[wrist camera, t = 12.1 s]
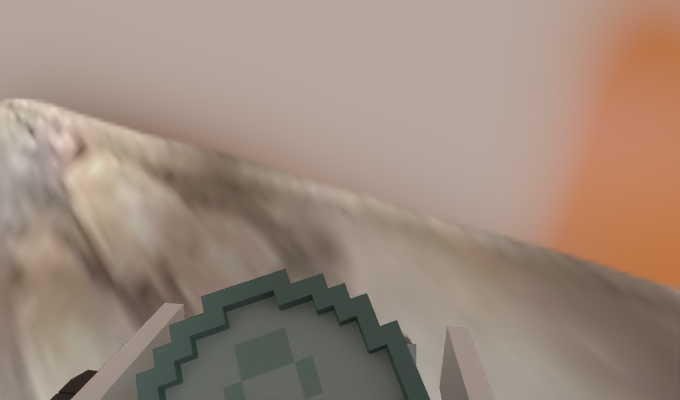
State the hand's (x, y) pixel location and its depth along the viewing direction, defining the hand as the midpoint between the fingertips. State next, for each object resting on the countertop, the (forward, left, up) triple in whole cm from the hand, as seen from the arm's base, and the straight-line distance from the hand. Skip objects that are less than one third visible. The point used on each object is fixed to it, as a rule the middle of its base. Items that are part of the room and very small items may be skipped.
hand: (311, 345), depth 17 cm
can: (0, +3, -8) cm, 8 cm away
